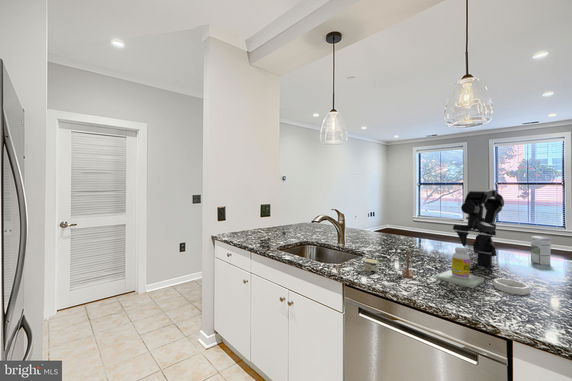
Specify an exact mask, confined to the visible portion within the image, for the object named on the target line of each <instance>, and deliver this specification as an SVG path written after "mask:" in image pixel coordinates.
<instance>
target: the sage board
mask: <svg viewBox="0 0 572 381" xmlns="http://www.w3.org/2000/svg"><path fill="white" fill-rule="evenodd" d="M436 279H438V280H441V281H445V282H448V283H452V284H456V285H459V286H464V287H467V288H471V289H474V288H476V287H477V286H479V285H481V284H482V283H483V282H484V281H485V278H484V277H481V276H477V275H473V274H469V278H468V279H460V278H456V277H454V276H453V275H452V269H447V270H446V271H444V272H442V273H440V274H438V275H436Z"/></svg>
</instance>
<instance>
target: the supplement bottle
mask: <svg viewBox="0 0 572 381" xmlns="http://www.w3.org/2000/svg"><path fill="white" fill-rule="evenodd" d="M454 251H455V252H454V253H452V260H451V270H452V275H453V276H454V277H456V278H460V279H468V278H469V275H471V273H470V272H471V271H470V270H471V268H470V267H471V266H470V265H471V257H470V255H469V254H468V251H469V250H468V248H465V247H455V248H454Z"/></svg>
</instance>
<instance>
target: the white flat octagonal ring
mask: <svg viewBox="0 0 572 381" xmlns="http://www.w3.org/2000/svg"><path fill="white" fill-rule="evenodd" d="M492 285H493V287H494V288H495V289H496V290H499V291H502V292H505V293H507V294H514V295H520V296H525V295H529V294H531V287H530V286H529V285H528V284H527V283H525V282H522V281H519V280H516V279H512V278H511V279H510V278H502V277H500V278H499V277H498V278H493V282H492Z"/></svg>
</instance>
